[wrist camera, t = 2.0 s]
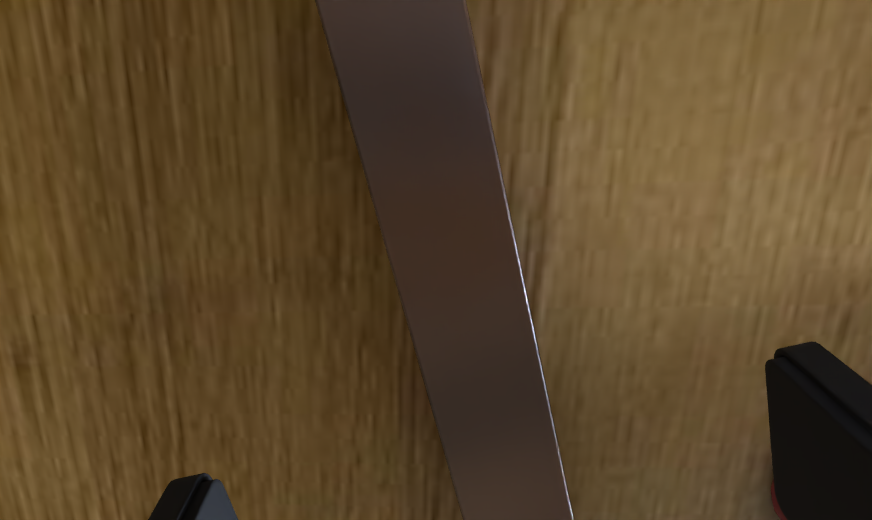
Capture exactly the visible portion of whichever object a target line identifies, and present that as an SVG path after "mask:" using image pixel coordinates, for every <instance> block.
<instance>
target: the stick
mask: <svg viewBox="0 0 872 520" xmlns="http://www.w3.org/2000/svg"><path fill="white" fill-rule="evenodd" d="M315 2H316V6H317V9H318V13H319V16H320V20H321V23H322V27H323V30H324V34H325V37H326V41H327V44H328V48H329V51H330V55H331V58H332V62H333V65H334V69H335V72H336V76H337V79H338V83H339V86H340V90H341V93H342V97H343V100H344V104H345V107H346V111H347V114H348V118H349V121H350V125H351V128H352V132H353V135H354V139H355V142H356V146H357V149H358V153H359V156H360V160H361V163H362V167H363V170H364V174H365V177H366V181H367V184H368V188H369V191H370V195H371V198H372V202H373V205H374V209H375V212H376V216H377V219H378V223H379V226H380V230H381V233H382V237H383V240H384V244H385V247H386V251H387V254H388V258H389V261H390V265H391V268H392V272H393V275H394V279H395V282H396V286H397V289H398V293H399V296H400V300H401V303H402V307H403V310H404V314H405V317H406V321H407V324H408V328H409V331H410V335H411V338H412V342H413V345H414V349H415V352H416V356H417V359H418V363H419V366H420V370H421V373H422V377H423V380H424V384H425V387H426V391H427V394H428V398H429V401H430V405H431V408H432V412H433V415H434V419H435V422H436V426H437V429H438V433H439V436H440V440H441V443H442V447H443V450H444V454H445V457H446V461H447V464H448V468H449V471H450V475H451V478H452V482H453V485H454V489H455V492H456V496H457V499H458V503H459V506H460V510H461V513H462V517H463V520H574V517H573V513H572V508H571V503H570V498H569V493H568V489H567V484H566V479H565V474H564V469H563V465H562V460H561V455H560V450H559V445H558V441H557V436H556V431H555V426H554V421H553V417H552V412H551V407H550V402H549V397H548V393H547V388H546V383H545V378H544V373H543V369H542V364H541V359H540V354H539V349H538V345H537V340H536V335H535V330H534V325H533V321H532V316H531V311H530V306H529V301H528V297H527V292H526V287H525V282H524V277H523V272H522V268H521V263H520V258H519V253H518V248H517V244H516V239H515V234H514V229H513V224H512V220H511V215H510V210H509V205H508V200H507V196H506V191H505V186H504V181H503V176H502V172H501V167H500V162H499V157H498V152H497V148H496V143H495V138H494V133H493V128H492V124H491V119H490V114H489V109H488V104H487V100H486V95H485V90H484V85H483V80H482V76H481V71H480V66H479V61H478V56H477V52H476V47H475V42H474V37H473V32H472V28H471V23H470V18H469V13H468V8H467V4H466V0H315Z"/></svg>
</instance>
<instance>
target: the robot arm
mask: <svg viewBox="0 0 872 520" xmlns="http://www.w3.org/2000/svg"><path fill="white" fill-rule="evenodd" d="M765 373H766V386H767V399H768V413H769V426H770V439H771V452H772V466H773V479H774V491H775V496H776V499H777V502H778V505H779V507H780V509H781V511H782V513H783V514H784V516H785V517H786V518H787V520H872V385H871V384H869V383H868V382H867V381H866V380H864V379H863V378H862V377H861V376H859V375H858V374H857V373H856V372H854V371H853V370H852V369H850V368H849V367H848V366H847V365H845V364H844V363H843V362H842V361H840V360H839V359H838V358H837V357H835V356H834V355H833V354H831V353H830V352H829V351H828V350H826V349H825V348H824V347H823V346H821V345H820V344H818V343H817V342H807V343H802V344H798V345H793V346H788V347H784V348H779V349H777V350H776V351H775V354H774V359H771V360H768V361H767V362H766V365H765ZM148 520H238V518H237V516H236V513H235V511H234V509H233V506H232V504H231V502H230V499H229V497H228V495H227V492H226V490H225V488H224V486H223V484H222V482H221V481H220V480H218V479H215V480H212V478H211V477H210V476H209V475H208V474H206V473H202V474H197V475H193V476H188V477H183V478H179V479H175V480H172V481H171V482H170V483H169V484H168V486H167V487H166V489H165V491H164V493H163V494H162V496H161V498H160V500H159V501H158V503H157V505H156V507H155V508H154V510H153V512H152V514H151V516H150V517H149V519H148Z"/></svg>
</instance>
